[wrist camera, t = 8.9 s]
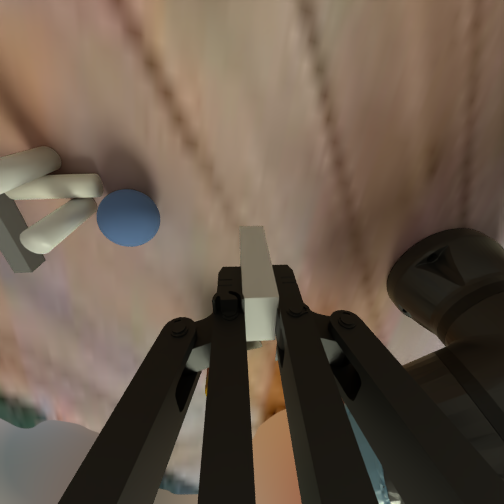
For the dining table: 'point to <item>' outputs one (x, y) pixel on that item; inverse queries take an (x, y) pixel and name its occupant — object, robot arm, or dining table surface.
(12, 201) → the stopper bar
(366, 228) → the dining table surface
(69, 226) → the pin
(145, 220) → the ball
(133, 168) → the dining table surface
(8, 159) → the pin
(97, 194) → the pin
